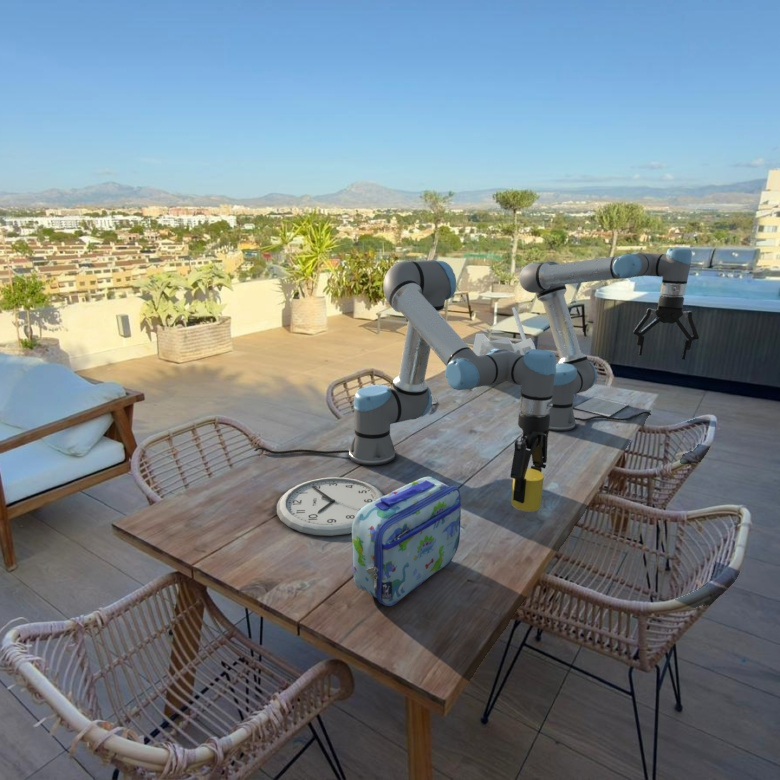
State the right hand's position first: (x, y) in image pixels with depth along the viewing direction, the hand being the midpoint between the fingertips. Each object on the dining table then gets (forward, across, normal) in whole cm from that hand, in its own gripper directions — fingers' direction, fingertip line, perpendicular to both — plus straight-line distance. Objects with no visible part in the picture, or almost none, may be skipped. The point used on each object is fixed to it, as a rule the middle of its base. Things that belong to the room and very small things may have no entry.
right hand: (661, 356), depth 184 cm
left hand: (+24, -33, -75) cm, 86 cm away
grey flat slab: (+31, -16, +31) cm, 47 cm away
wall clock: (+31, -82, -90) cm, 126 cm away
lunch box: (+31, -52, -111) cm, 127 cm away
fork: (+31, -84, 0) cm, 89 cm away
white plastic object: (+31, -64, +47) cm, 85 cm away
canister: (+27, -33, -76) cm, 87 cm away
